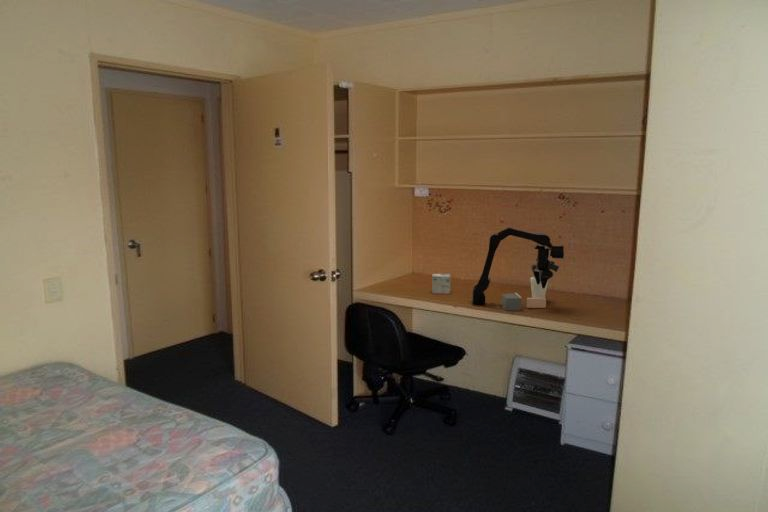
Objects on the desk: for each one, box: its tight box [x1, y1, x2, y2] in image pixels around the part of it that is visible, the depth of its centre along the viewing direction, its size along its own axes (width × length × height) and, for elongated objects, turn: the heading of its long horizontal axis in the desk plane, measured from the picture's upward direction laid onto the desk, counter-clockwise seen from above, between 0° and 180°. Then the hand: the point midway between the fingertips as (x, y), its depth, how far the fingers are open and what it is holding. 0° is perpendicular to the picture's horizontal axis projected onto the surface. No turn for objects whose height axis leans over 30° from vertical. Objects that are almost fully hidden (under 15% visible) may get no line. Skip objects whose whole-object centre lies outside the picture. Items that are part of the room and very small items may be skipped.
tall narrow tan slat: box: [525, 297, 547, 309], centre depth 294 cm, size 10×2×5 cm, turn 92°
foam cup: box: [529, 276, 549, 298], centre depth 307 cm, size 10×9×13 cm
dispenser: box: [500, 292, 523, 312], centre depth 293 cm, size 8×10×7 cm
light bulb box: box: [431, 273, 451, 295], centre depth 326 cm, size 11×7×11 cm, turn 84°
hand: (540, 286), depth 293 cm, fingers open, 9 cm apart
